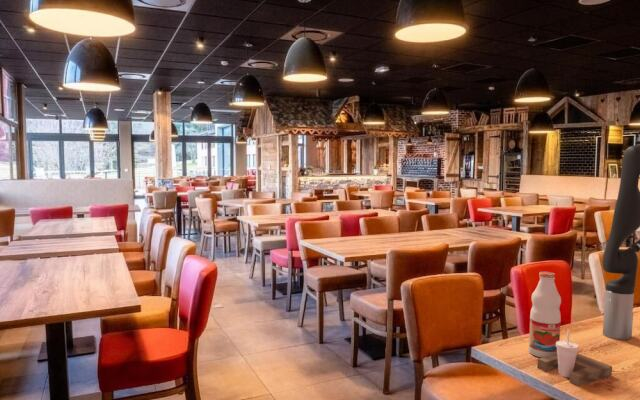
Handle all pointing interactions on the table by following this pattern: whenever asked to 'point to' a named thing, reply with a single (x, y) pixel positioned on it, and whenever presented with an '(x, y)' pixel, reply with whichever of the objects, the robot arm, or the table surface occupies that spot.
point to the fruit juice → (545, 317)
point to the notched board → (579, 369)
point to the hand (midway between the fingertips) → (625, 255)
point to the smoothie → (566, 356)
